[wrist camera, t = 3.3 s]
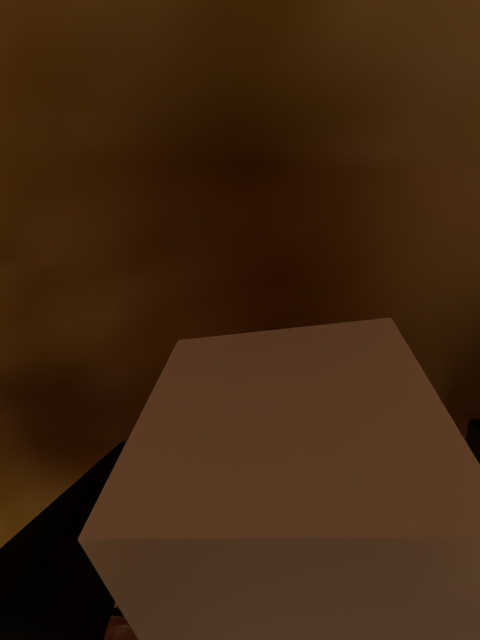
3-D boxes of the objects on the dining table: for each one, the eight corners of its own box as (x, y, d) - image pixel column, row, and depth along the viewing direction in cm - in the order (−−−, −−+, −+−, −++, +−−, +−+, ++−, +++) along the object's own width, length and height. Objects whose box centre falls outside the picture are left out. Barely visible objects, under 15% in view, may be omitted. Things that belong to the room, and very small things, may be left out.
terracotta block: (390, 315, 8) (522, 536, 4) (389, 471, 10) (470, 727, 6) (178, 338, 9) (77, 538, 4) (218, 477, 11) (177, 704, 7)
